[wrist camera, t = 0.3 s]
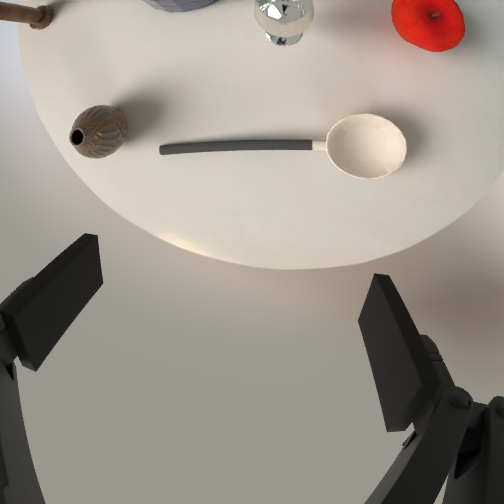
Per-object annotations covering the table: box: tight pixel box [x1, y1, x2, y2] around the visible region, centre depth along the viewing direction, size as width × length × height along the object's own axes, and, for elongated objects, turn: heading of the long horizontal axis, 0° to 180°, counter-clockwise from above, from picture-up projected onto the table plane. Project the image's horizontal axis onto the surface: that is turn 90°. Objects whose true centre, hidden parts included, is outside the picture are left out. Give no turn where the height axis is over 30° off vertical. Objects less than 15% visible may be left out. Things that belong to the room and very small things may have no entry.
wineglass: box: [253, 0, 315, 46], centre depth 26 cm, size 6×6×12 cm
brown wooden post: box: [0, 2, 53, 29], centre depth 22 cm, size 4×4×19 cm
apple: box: [391, 0, 465, 52], centre depth 25 cm, size 9×9×8 cm
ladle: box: [159, 113, 407, 179], centre depth 37 cm, size 8×31×4 cm, turn 93°
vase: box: [69, 105, 127, 158], centre depth 34 cm, size 7×7×9 cm
